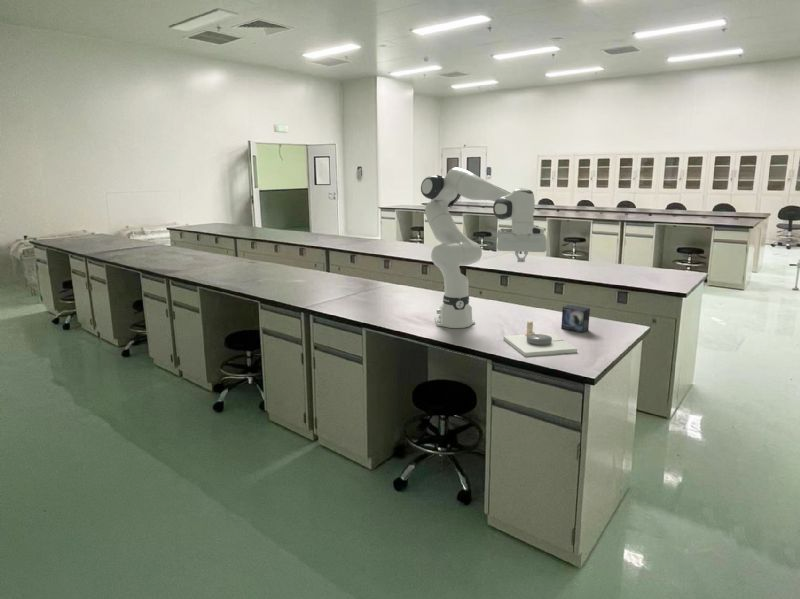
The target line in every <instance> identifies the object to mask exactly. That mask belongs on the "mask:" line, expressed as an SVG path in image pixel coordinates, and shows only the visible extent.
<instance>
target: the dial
mask: <svg viewBox="0 0 800 599" xmlns="http://www.w3.org/2000/svg"><path fill="white" fill-rule="evenodd" d="M533 327H534V321H532V320H527V322H526V335H528V336H527V340H526V341H527V342H528V343H531V344H535V345H548V344H551V343H552V338H551V337H550V336H548V335H543V334H542V333H535V332H534V331H533V329H534V328H533Z"/></svg>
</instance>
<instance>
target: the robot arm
mask: <svg viewBox="0 0 800 599" xmlns="http://www.w3.org/2000/svg"><path fill="white" fill-rule="evenodd" d="M420 192H421V194H422V195H423V196H424V197H425V198H426V199H429V200H430V201H429V202H428V203H427V204H426V205H425V207H424V213H425V217H426V220H427V222H428V225H429V227H430V229H431V231H432V233H433V236H434V238H435V239H436V240H437V241H438V242H439V243H441V244H438V245H435V246H434V247H433V248H432V251H431V253H430V254H431V256H430V257H431V262H432V263H433V265H434V266H435V267H437V268H438V269H439V271H440V272H441V274H442V277H443V283H444V286H443V287H444V294H443V298H442V304H441V305H440V307H439V309H436V314H437V315H435V316H434V320H435V325H436V326H437V327H442V328H443V327H444V328H450V329H464V328H469V327H470V326H472V325H474V324H476V321H475V320H474V319H473V308H472V306H471V305H470V304H469V303H470V295H469V278H468V277H467V276H466V275H464V274H463V273H462V272H461V268H460V266H461V267H463V266H469V265H473V264H475V263H478V262H479V261H480V260H481V257H482V254H483V252H482V251H483V250H482V248H481V245H480V244H479V243H478V242H477V241H476V242H475V241H474V240H472V239H470V238H468V236H466V234H464V233H463V232H462V231H461V230H460V229H459V228H458V227H457V224H456V222H455V220H454V219H453V217H452V214H451V213H450V212H449V208H451V207H453V205H455V203H457V202H458V201H459V199H460V198H461V197H463V198H465V199H468V200H473V201H491V202H494V203H493V205H492V211H493V215H494V216H495V217H496V218H497V219H498V220H502V221H504V220H505V221H507V220H511V228H500V229H499V230H497V233H496V238H497V242H496V243H497V245H496V249H497V251H498V252H499V251H501V252H514V254H515V256H516V258H517V263H525V262H526V258H527V255H528V254H529V253H545V252H546V251H547V250H548V242H547V241H548V240H547V236H546V235H545V228H544V227H543V226H539V225H536V224H534V223H535V222H534V221H535V219H534V213H535V208H536V207H535V194H534V192H533V191H532V190H531V189H528V188H522V187H521V188H520V187H519V188H516V189H513V191H512V192H509V191H508V190H505V189H503V188H501V187H499V186H497V185H494V184H493V183H492V182H489V181H487V180H485V179H484V178H482V177H481V176H478V175H477V174H475V173H473V172H471V171H470V170H467V169H464V168H461V167H452V168H451V169H449V171H448V172H447V174H446V175H444V176H442V175H441V174H436V175H431V176H427V177H425V178H424V179H423V180H422V182H421V184H420ZM520 252H523V253H524V255H523V257H520V255H519V253H520Z"/></svg>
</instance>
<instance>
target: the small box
mask: <svg viewBox="0 0 800 599" xmlns="http://www.w3.org/2000/svg"><path fill="white" fill-rule="evenodd" d="M590 312H591V308H590V307H586V306H580V305H574V304H567V305H564V306H562V312H561V313H562V314H561V327H560V328H561V329H562V330H567V331H570V332H575V333H580V334H583V333H586V332H588V331H590V330H589V328H590V327H589V326H590V324H589V323H590Z"/></svg>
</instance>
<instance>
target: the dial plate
mask: <svg viewBox="0 0 800 599" xmlns="http://www.w3.org/2000/svg"><path fill="white" fill-rule="evenodd" d="M541 334H543V335H548V336H550V337H551V338H552V343H551V344H548V345H535V344H531V343H528V342H527V341H526V340H527V336H528V335H527V334H519V335H518V334H516V335H515V334H514V335H505V336H504V335H503V336H502V337H503V341H505V342H506V343H507V344H508V345H510V346H511V347H512V348H514V350H516V351H517V352H519V353H520V355H522V354H523V355H522V356H524V357H533V356H546V355H559V354H570V353H571V354H572V353H578V348H577V347H575V346H574V345H572V344H570V343H569V342H567V341H565V340H563V338H561V337H559V336H557V335H555V334H554V333H552V332H546V333H544V332H542V333H541Z"/></svg>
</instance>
